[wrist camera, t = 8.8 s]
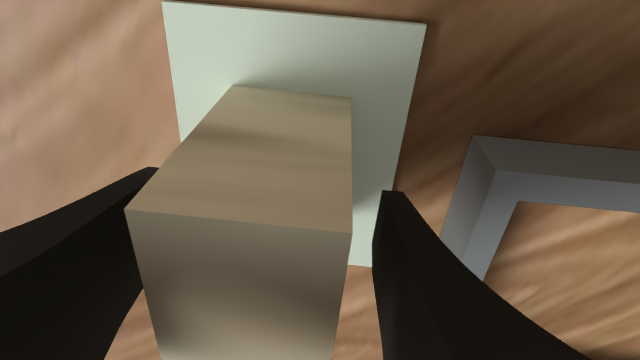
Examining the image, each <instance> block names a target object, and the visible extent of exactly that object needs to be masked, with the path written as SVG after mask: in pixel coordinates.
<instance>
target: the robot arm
mask: <svg viewBox="0 0 640 360" xmlns="http://www.w3.org/2000/svg"><path fill="white" fill-rule="evenodd" d="M158 169H159V168H156V167H147V168H144V169H141V170H139V171H137V172H135V173H132V174H130V175H128V176H126V177H124V178H122V179H120V180H118V181H116V182H114V183H112V184H110V185H108V186H106V187H104V188H102V189H100V190H98V191H96V192H94V193H92V194H90V195H88V196H86V197H84V198H82V199H79V200H77V201H75V202H73V203H71V204H68V205H66V206H64V207H62V208H60V209H57V210H55V211H53V212H51V213H49V214H46V215H44V216H42V217H39V218H37V219H35V220H32V221H30V222H27V223H25V224H22V225H19V226H17V227H14V228H11V229H9V230H6V231H3V232H0V360H104V358H105V356H106V354H107V352H108V350H109V348H110V346H111V344H112V342H113V340H114V338H115V335H116V333H117V331H118V329H119V327H120V326H121V324H122V322H123V320H124V319H125V317H126V315H127V313H128V312H129V310H130V308H131V307H132V305H133V304H134V302H135V300H136V299H137V297H138V295H139V294H140V292H141V291H142V289H143V284H142V280H141V276H140V272H139V268H138V264H137V260H136V256H135V252H134V248H133V244H132V240H131V236H130V232H129V228H128V224H127V220H126V216H125V212H124V208H125V207H126V206H127V205H128V204H129V203H130V201H131V200H132V199H133V198H134V197H135V196H136V195H137V193H138V192H139V191H140V190H141V189H142V188H143V187H144V185H145V184H146V183H147V182H148V181H149V180H150V178H151V177H152V176H153V175H154V174H155V173H156V172H157V170H158ZM372 275H373V283H374V290H375V297H376V304H377V311H378V318H379V325H380V332H381V339H382V349H383V360H591V359H589V358H588V357H586V356H584V355H583V354H581V353H579V352H578V351H576V350H575V349H573V348H571V347H570V346H568V345H567V344H565V343H564V342H562V341H561V340H559V339H558V338H556V337H555V336H553V335H552V334H550V333H549V332H547V331H546V330H544V329H543V328H541V327H540V326H539V325H537V324H536V323H534V322H533V321H532V320H530V319H529V318H527V317H526V316H525V315H523V314H522V313H521V312H519V311H518V310H517V309H516V308H514V307H513V306H512V305H510V304H509V303H508V302H506V301H505V300H504V299H503V298H501V297H500V296H499V295H498V294H496V293H495V292H494V291H493V290H492V289H490V288H489V287H488V286H487V285H486V284H485V283H484V282H483V281H481V280H480V279H479V278H478V277H477V276H476V275H475V274H474V273H473V272H471V271H470V270H469V269H468V268H467V267H466V266H465V265H464V264H463V263H462V262H461V261H460V260H459V259H458V258H457V257H456V256H455V255H454V254H453V253H452V252H451V250H450V249H449V248H448V247H447V246H446V245H445V244H444V243H443V242H442V241H441V240H440V238H439V237H438V236H437V235H436V234H435V232H434V231H433V230H432V229H431V228H430V226H429V225H428V224H427V223H426V221H425V220H424V219H423V218H422V216H421V215H420V214H419V212H418V211H417V210H416V208H415V207H414V206H413V204H412V203H411V202H410V201H409V199H408V198H407V197H406V195H405V194H404V193H403V192H399V191H389V190H382V193H381V198H380V203H379V208H378V213H377V218H376V223H375V228H374V234H373V239H372Z"/></svg>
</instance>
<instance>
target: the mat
mask: <svg viewBox="0 0 640 360" xmlns="http://www.w3.org/2000/svg"><path fill="white" fill-rule="evenodd" d="M161 2H162V9H163V16H164V23H165V30H166V38H167V45H168V52H169V59H170V66H171V74H172V81H173V88H174V95H175V102H176V110H177V117H178V124H179V131H180V138H181V143H182V142H183V141H184V139H185V138H186V137H187V136H188V135H189V134H190V133H191V131H192V130H193V129H194V128H195V127H196V126H197V125H198V123H199V122H200V121H201V120H202V119H203V118H204V117H205V115H206V114H207V113H208V112H209V111H210V110H211V109H212V107H213V106H214V105H215V104H216V103H217V102H218V100H219V99H220V98H221V97H222V96H223V95H224V94H225V92H226V91H227V90H228V89H229V88H230V87H231V86H232V85H235V86H245V87H255V88H264V89H274V90H284V91H294V92H304V93H314V94H323V95H333V96H343V97H351V145H352V213H353V235H352V241H351V247H350V253H349V259H348V265H358V266H368V267H372V239H373V234H374V228H375V223H376V218H377V213H378V208H379V203H380V198H381V193H382V190H389V191H392V186H393V181H394V177H395V172H396V167H397V163H398V158H399V153H400V148H401V144H402V139H403V134H404V130H405V125H406V120H407V116H408V111H409V106H410V102H411V97H412V92H413V88H414V83H415V78H416V74H417V69H418V64H419V59H420V55H421V50H422V45H423V41H424V36H425V31H426V27H427V25H426V24H424V23H415V22H404V21H393V20H382V19H371V18H360V17H349V16H338V15H327V14H316V13H305V12H294V11H283V10H272V9H261V8H250V7H239V6H228V5H217V4H206V3H195V2H184V1H173V0H165V1H161Z"/></svg>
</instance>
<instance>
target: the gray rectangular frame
mask: <svg viewBox="0 0 640 360" xmlns="http://www.w3.org/2000/svg"><path fill="white" fill-rule="evenodd" d="M518 201H525V202H535V203H545V204H555V205H565V206H576V207H586V208H596V209H606V210H616V211H626V212H636V213H640V151H635V150H625V149H614V148H604V147H593V146H583V145H573V144H562V143H552V142H541V141H531V140H521V139H510V138H500V137H489V136H479V135H472V138H471V141H470V144H469V147H468V150H467V154H466V157H465V160H464V163H463V166H462V169H461V172H460V175H459V178H458V181H457V185H456V188H455V191H454V194H453V197H452V200H451V203H450V206H449V209H448V212H447V216H446V219H445V222H444V225H443V228H442V231H441V234H440V237H439V238H440V240H441V241H442V242H443V243H444V244H445V245H446V246H447V247H448V248H449V249H450V250H451V252H452V253H453V254H454V255H455V256H456V257H457V258H458V259H459V260H460V261H461V262H462V263H463V264H464V265H465V266H466V267H467V268H468V269H469V270H470V271H471V272H473V273H474V274H475V275H476V276H477V277H478V278H479V279H480V280H481V281H483V279H484V277H485V275H486V272H487V270H488V268H489V265H490V263H491V261H492V259H493V256H494V254H495V252H496V250H497V247H498V245H499V243H500V240H501V238H502V236H503V234H504V231H505V229H506V227H507V225H508V222H509V220H510V218H511V215H512V213H513V211H514V209H515V206H516V204H517V202H518Z"/></svg>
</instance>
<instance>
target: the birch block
mask: <svg viewBox="0 0 640 360" xmlns="http://www.w3.org/2000/svg"><path fill="white" fill-rule="evenodd" d="M124 212H125V216H126V220H127V224H128V228H129V232H130V236H131V240H132V244H133V248H134V252H135V256H136V260H137V264H138V268H139V272H140V276H141V280H142V284H143V288H144V292H145V296H146V300H147V304H148V308H149V312H150V316H151V320H152V324H153V328H154V332H155V336H156V340H157V344H158V348H159V352H160V356H161V360H332V354H333V348H334V342H335V336H336V330H337V325H338V319H339V313H340V307H341V301H342V295H343V289H344V283H345V277H346V271H347V265H348V259H349V253H350V247H351V241H352V235H353V213H352V145H351V97H343V96H333V95H323V94H314V93H304V92H294V91H284V90H274V89H264V88H255V87H245V86H235V85H232V86H231V87H230V88H229V89H228V90H227V91H226V92H225V94H224V95H223V96H222V97H221V98H220V99H219V100H218V102H217V103H216V104H215V105H214V106H213V107H212V109H211V110H210V111H209V112H208V113H207V114H206V115H205V117H204V118H203V119H202V120H201V121H200V122H199V123H198V125H197V126H196V127H195V128H194V129H193V130H192V131H191V133H190V134H189V135H188V136H187V137H186V138H185V139H184V141H183V142H182V143H181V144H180V145H179V146H178V148H177V149H176V150H175V151H174V152H173V153H172V154H171V156H170V157H169V158H168V159H167V160H166V161H165V162H164V164H163V165H162V166H161V167H160V168H159V169H158V170H157V172H156V173H155V174H154V175H153V176H152V177H151V178H150V180H149V181H148V182H147V183H146V184H145V185H144V187H143V188H142V189H141V190H140V191H139V192H138V193H137V195H136V196H135V197H134V198H133V199H132V200H131V201H130V203H129V204H128V205H127V206H126V207H125V208H124Z"/></svg>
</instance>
